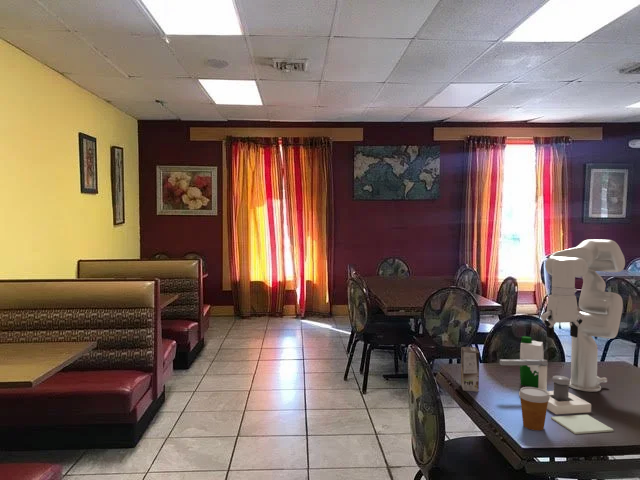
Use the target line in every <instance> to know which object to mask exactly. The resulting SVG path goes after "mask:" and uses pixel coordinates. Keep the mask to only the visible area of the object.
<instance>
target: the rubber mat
mask: <svg viewBox="0 0 640 480" xmlns="http://www.w3.org/2000/svg"><path fill="white" fill-rule="evenodd" d="M550 418H551V420H553V421H554V422H556V423H557V424H559V425H561V426H562V427H563V428H565V429H567V430H568V431H569V432H571V433H573V434H574V435H581V434H594V433H607V432H609V433H610V432H614V429H613V428H612V427H610V426H608V425H606V424H605V423H603V422H601V421H599V420H598V419H596V418H594V417H592V416H591V415H589V414H576V415H573V414H572V415H559V416H551V417H550Z"/></svg>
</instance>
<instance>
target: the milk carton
mask: <svg viewBox="0 0 640 480" xmlns="http://www.w3.org/2000/svg"><path fill="white" fill-rule="evenodd" d="M519 346H520V351H519V360H539V359H544V354H545V353H544V342H543V341H537V340H533V337H531V336H528V335H523V336H521V341H520V345H519ZM544 360H545V359H544ZM519 378H520V379H519V381H520V386H523V387H524V386H525V387H534V388H538V382H539V365H519Z"/></svg>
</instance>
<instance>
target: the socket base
mask: <svg viewBox="0 0 640 480" xmlns="http://www.w3.org/2000/svg"><path fill="white" fill-rule="evenodd" d="M547 384H548V365H547V366H542V365H539V382H538V388H539V389H543V390H545V391H547V392H548V395H549V397H550V399H549V401H548V405H547V410H548V411H550V412H552V413H553V414H555V415H569V414H582V413H583V414H584V413H592V403H590V402H588V401H586V400H585V399H583V398H580V397H579V396H577V395H575V394H574V393H571V392H569V395H568V401H560V402H559V401H557V400H555V399H553V394H554V390H548V389H547V387H548V385H547Z"/></svg>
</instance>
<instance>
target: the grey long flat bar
mask: <svg viewBox="0 0 640 480" xmlns="http://www.w3.org/2000/svg"><path fill="white" fill-rule="evenodd" d="M499 365H501V366H520V365H542V366H547V367H548V359H539V360H520V359H499Z"/></svg>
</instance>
